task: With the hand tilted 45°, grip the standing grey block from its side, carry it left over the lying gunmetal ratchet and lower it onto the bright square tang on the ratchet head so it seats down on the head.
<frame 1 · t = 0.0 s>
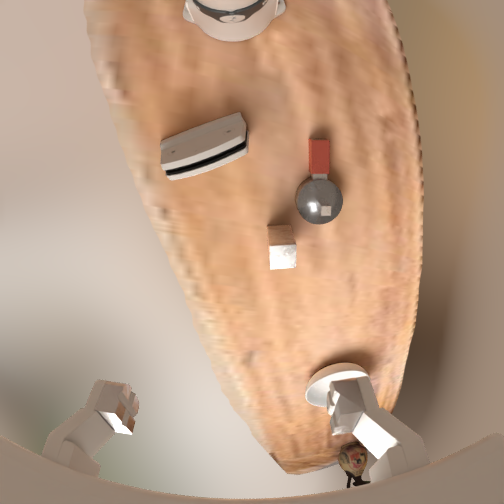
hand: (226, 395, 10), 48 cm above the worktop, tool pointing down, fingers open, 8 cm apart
serving bowl: (334, 373, 84), on the worktop
ceramic jug: (348, 445, 118), on the worktop
ratchet: (317, 197, 56), on the worktop
grey block: (278, 235, 60), on the worktop
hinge: (206, 144, 51), on the worktop
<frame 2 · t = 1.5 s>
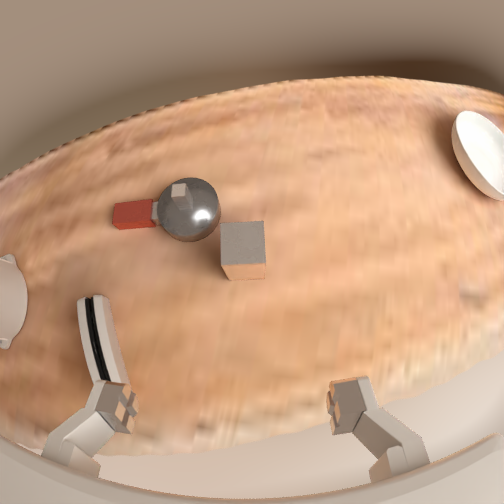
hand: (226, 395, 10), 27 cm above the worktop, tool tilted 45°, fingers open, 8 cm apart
serving bowl: (477, 167, 45), on the worktop
ratchet: (191, 213, 42), on the worktop
grey block: (246, 262, 40), on the worktop
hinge: (115, 352, 37), on the worktop
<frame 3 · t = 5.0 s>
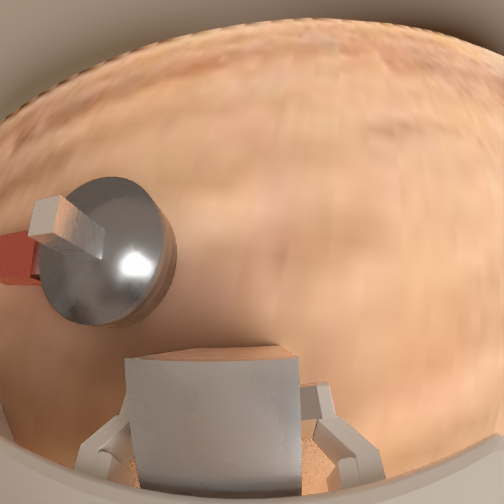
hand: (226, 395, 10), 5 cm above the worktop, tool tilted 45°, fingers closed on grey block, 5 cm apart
ratchet: (114, 259, 17), on the worktop
grey block: (238, 387, 15), on the worktop, touching gripper
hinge: (30, 481, 12), on the worktop
when the fingers open (9 cm above the worktop, at t = 10.1 s): grey block stays where it is, resting on ratchet.
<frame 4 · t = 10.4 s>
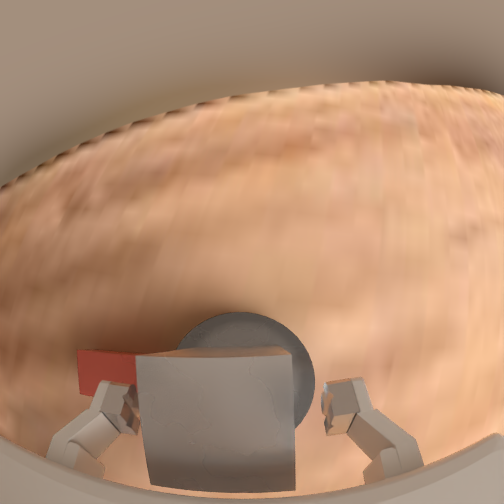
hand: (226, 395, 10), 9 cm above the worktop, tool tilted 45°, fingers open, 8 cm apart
ratchet: (243, 377, 19), on the worktop
grey block: (238, 384, 16), point 3 cm above the worktop, touching ratchet
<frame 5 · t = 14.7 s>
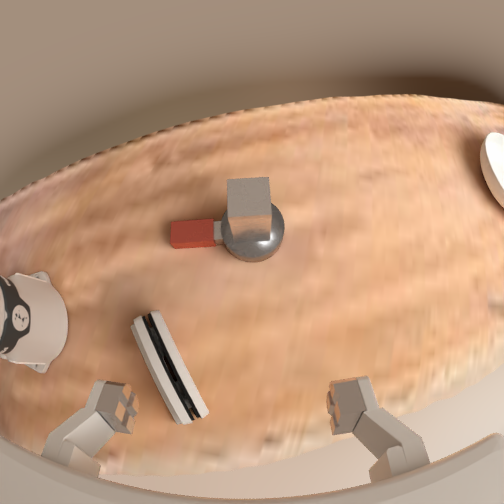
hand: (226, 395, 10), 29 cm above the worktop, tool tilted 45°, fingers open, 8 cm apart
serving bowl: (500, 185, 45), on the worktop
ratchet: (253, 233, 43), on the worktop
grey block: (251, 225, 40), point 3 cm above the worktop, touching ratchet
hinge: (175, 366, 38), on the worktop
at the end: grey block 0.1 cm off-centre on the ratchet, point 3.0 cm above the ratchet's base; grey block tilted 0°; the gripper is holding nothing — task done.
